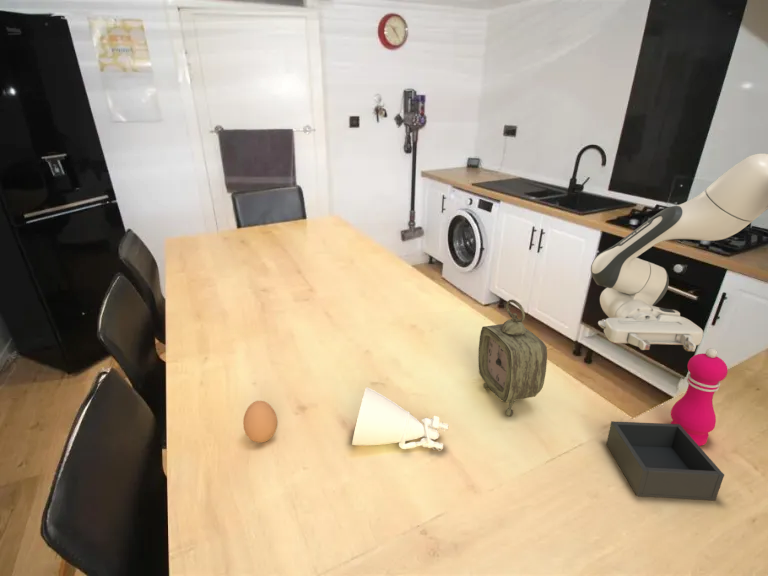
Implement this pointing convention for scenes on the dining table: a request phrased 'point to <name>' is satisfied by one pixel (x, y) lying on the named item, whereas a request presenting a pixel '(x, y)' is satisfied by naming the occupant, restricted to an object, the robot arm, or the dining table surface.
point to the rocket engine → (392, 424)
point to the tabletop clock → (512, 360)
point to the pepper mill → (700, 396)
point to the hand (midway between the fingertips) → (669, 347)
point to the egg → (260, 421)
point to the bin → (663, 461)
